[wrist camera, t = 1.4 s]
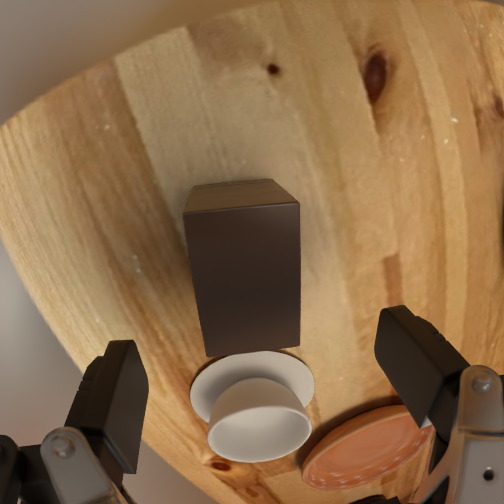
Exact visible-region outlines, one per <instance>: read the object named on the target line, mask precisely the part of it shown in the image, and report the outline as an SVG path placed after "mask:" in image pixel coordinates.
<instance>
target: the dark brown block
mask: <svg viewBox="0 0 504 504" xmlns="http://www.w3.org/2000/svg"><path fill="white" fill-rule="evenodd" d="M183 221H184V229H185V236H186V242H187V249H188V256H189V262H190V268H191V275H192V281H193V287H194V292H195V298H196V304H197V309H198V315H199V320H200V326H201V331H202V336H203V341H204V346H205V351H206V356H207V357H217V356H227V355H236V354H245V353H253V352H261V351H269V350H276V349H283V348H290V347H296V346H300V320H301V242H300V203H299V201H298V200H296V199H295V198H294V197H293V196H292V195H291V194H289V193H288V192H287V191H286V190H285V189H284V188H282V187H281V186H280V185H279V184H278V183H276V182H275V181H274V180H273V179H263V180H250V181H239V182H228V183H218V184H209V185H200V186H193V188H192V191H191V194H190V196H189V199H188V201H187V204H186V207H185V209H184V212H183Z"/></svg>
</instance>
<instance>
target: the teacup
mask: <svg viewBox="0 0 504 504" xmlns="http://www.w3.org/2000/svg"><path fill="white" fill-rule="evenodd" d="M314 390H315V381H314V378H313V375H312V373H311V371H310V370H309V369H308V367H307V366H306V365H305V364H303V363H302V362H301V361H299V360H298V359H296V358H294V357H291V356H289V355H286V354H282V353H278V352H270V351H261V352H253V353H245V354H236V355H231V356H228V357H225V358H223V359H221V360H219V361H217V362H215V363H213V364H211V365H210V366H208V367H207V368H206V369H204V370H203V371H202V372H201V373H200V374H199V375H198V377H197V378H196V379H195V381H194V383H193V385H192V388H191V392H190V399H191V404H192V406H193V408H194V410H195V412H196V413H197V414H198V415H199V416H200V417H201V418H202V419H203V420H204V421H206V422H207V423H209V428H208V435H207V440H208V444H209V446H210V447H211V449H212V450H213V451H214V452H215V453H217V454H218V455H220V456H222V457H224V458H226V459H229V460H233V461H238V462H264V461H269V460H274V459H277V458H280V457H283V456H285V455H288V454H290V453H292V452H293V451H295V450H297V449H298V448H299V447H301V446H302V445H303V444H304V443H305V442H306V441H307V439H308V438H309V436H310V434H311V431H312V424H311V421H310V419H309V417H308V415H307V413H306V411H305V408H306V407H307V406H308V404H309V403H310V401H311V399H312V397H313V394H314Z"/></svg>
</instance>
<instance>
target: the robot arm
mask: <svg viewBox="0 0 504 504" xmlns="http://www.w3.org/2000/svg"><path fill="white" fill-rule="evenodd" d="M374 351H375V357H376V360H377V362H378V364H379V365H380V367H381V368H382V370H383V371H384V373H385V374H386V376H387V378H388V379H389V381H390V382H391V384H392V385H393V387H394V389H395V390H396V392H397V393H398V395H399V396H400V398H401V400H402V401H403V403H404V404H405V406H406V408H407V409H408V411H409V413H410V414H411V416H412V417H413V419H414V421H415V422H416V424H417V426H418V427H419V429H422V428H424V427H426V426H429V425H431V424H432V425H433V426H434V428H435V430H434V431H433V434H432V438H431V443H430V448H429V453H428V457H427V462H426V466H425V470H424V474H423V478H422V481H421V484H420V486H419V488H418V490H417V492H416V494H415V496H414V498H413V500H412V503H407V504H504V375H498V374H497V373H496V372H495V371H494V370H492V369H491V368H489V367H486V366H483V365H473V366H471V365H470V364H469V363H468V362H467V361H466V360H465V359H464V358H463V357H462V356H461V355H460V353H459V352H458V351H457V350H456V349H455V348H454V347H453V346H452V345H451V344H450V343H449V342H448V341H446V339H445V337H444V336H443V335H442V334H441V333H439V331H438V330H437V329H436V328H435V327H434V326H433V325H432V324H431V323H430V322H428V321H426V320H424V319H423V318H421V317H419V316H415V315H414V314H413V313H412V312H411V311H410V310H409V309H408V308H407V307H406V306H405V305H398V306H393V307H389V308H384V309H382V310H381V312H380V316H379V322H378V328H377V334H376V339H375V345H374ZM82 379H83V381H81V383H80V386H79V391H77V393H76V396H75V398H74V401H73V403H72V406H71V409H70V411H69V414H68V417H67V419H66V422H65V425H64V427H60V428H57V429H55V430H53V431H51V432H50V433H49V434H47V435H46V437H45V438H44V440H43V442H42V444H39V445H31V446H23V447H18V445H17V444H16V443H15V442H14V441H13V440H12V439H11V438H10V437H8V436H6V435H0V504H17V501H18V498H19V499H20V500H21V504H136V502H135V501H134V499H133V498H132V497H131V495H130V494H129V492H128V491H127V490H126V488H125V487H124V485H123V484H122V480H123V473H126V474H136V470H137V462H138V455H139V448H140V441H141V435H142V428H143V422H144V416H145V410H146V404H147V399H148V393H149V384H148V378H147V374H146V371H145V369H144V366H143V363H142V360H141V357H140V355H139V352H138V349H137V346H136V343H135V342H134V340H113V341H110V342H109V344H108V346H107V349H106V351H105V353H104V356H97V357H96V358H95V359H94V360H93V361H92V362H91V364H90V365H89V366H88V367H87V369H86V371H85V374H84V376H83V378H82ZM377 504H400V502H399V499H398V497H397V496H396V497H393V498H391V499H388V500H385V501H383V502H380V503H377Z"/></svg>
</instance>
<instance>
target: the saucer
mask: <svg viewBox="0 0 504 504" xmlns="http://www.w3.org/2000/svg"><path fill="white" fill-rule="evenodd" d="M434 430H435V428H434V426H433V425H432V424H431V425H429V426H426V427H424V428H422V429H419V427H418V426H417V424H416V422H415V421H414V419H413V417H412V416H411V414H410V413H409V411H408V409H407V408H406V406H405V405H391V406H385V407H381V408H377V409H374V410H371V411H368V412H365V413H363V414H360V415H358V416H356V417H354V418H352V419H350V420H348V421H346V422H344V423H343V424H341V425H339V426H338V427H336V428H335V429H333V430H332V431H331V432H329V433H328V434H327V435H326V436H325V437H324V438H322V439H321V441H320V442H319V443H318V444H317V445H316V446H315V448H314V449H313V450H312V451H311V452H310V453H309V455H308V457H307V458H306V459H305V461H304V463H303V465H302V469H301V475H302V480H303V482H304V483H305V485H307V486H308V487H310V488H312V489H315V490H320V491H337V490H345V489H350V488H354V487H358V486H361V485H364V484H367V483H370V482H373V481H375V480H378V479H380V478H382V477H384V476H386V475H388V474H390V473H392V472H394V471H395V470H397V469H399V468H400V467H402V466H403V465H405V464H406V463H408V462H409V461H410V460H412V459H413V458H414V457H415V456H416V455H418V454H419V453H420V452H421V451H422V450H423V449H424V448H425V447H426V445H427V444H428V443H429V442H430V440H431V438H432V434H433V431H434Z"/></svg>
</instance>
